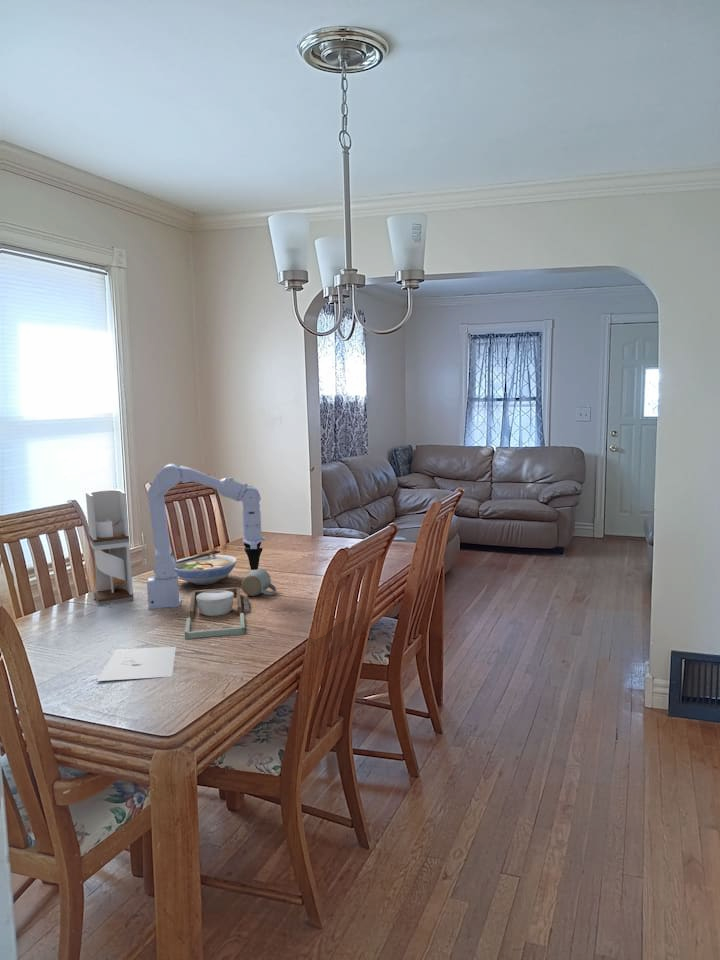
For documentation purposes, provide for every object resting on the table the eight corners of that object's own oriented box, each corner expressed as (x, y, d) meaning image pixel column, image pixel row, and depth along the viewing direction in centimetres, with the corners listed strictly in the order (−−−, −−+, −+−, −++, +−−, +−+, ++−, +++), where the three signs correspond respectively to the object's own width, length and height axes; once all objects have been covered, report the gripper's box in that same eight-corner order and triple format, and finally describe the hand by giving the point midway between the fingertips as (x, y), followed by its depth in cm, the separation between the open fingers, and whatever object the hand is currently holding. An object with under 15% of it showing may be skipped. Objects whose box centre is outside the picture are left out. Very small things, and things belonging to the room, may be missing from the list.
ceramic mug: (240, 596, 233) (239, 573, 232) (250, 589, 241) (249, 567, 240) (271, 598, 230) (270, 575, 229) (280, 591, 238) (279, 568, 237)
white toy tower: (93, 597, 238) (85, 492, 234) (127, 592, 243) (119, 489, 238) (98, 605, 228) (90, 495, 224) (133, 600, 233) (125, 492, 228)
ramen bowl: (198, 595, 235) (197, 571, 234) (155, 586, 249) (153, 563, 248) (254, 578, 255) (253, 556, 254) (210, 570, 269) (209, 549, 268)
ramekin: (230, 604, 225) (229, 587, 224) (238, 614, 215) (237, 597, 214) (194, 609, 221) (193, 592, 220) (200, 619, 211) (199, 602, 210)
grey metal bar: (244, 614, 215) (244, 609, 215) (244, 602, 227) (243, 598, 227) (249, 613, 216) (249, 609, 215) (248, 602, 227) (248, 598, 227)
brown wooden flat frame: (189, 619, 210) (189, 611, 210) (192, 598, 233) (192, 590, 232) (241, 615, 213) (241, 606, 213) (239, 594, 235) (239, 587, 235)
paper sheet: (118, 649, 188) (118, 645, 188) (230, 647, 190) (230, 643, 190) (89, 684, 165) (89, 680, 165) (217, 682, 166) (216, 678, 166)
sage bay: (184, 638, 194) (184, 633, 194) (187, 622, 207) (187, 617, 207) (245, 633, 197) (244, 627, 197) (243, 617, 210) (243, 612, 210)
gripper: (265, 528, 222) (267, 571, 224) (263, 520, 237) (265, 560, 238) (242, 529, 221) (244, 572, 223) (241, 521, 235) (243, 562, 237)
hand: (253, 566), depth 230 cm, fingers open, 7 cm apart
